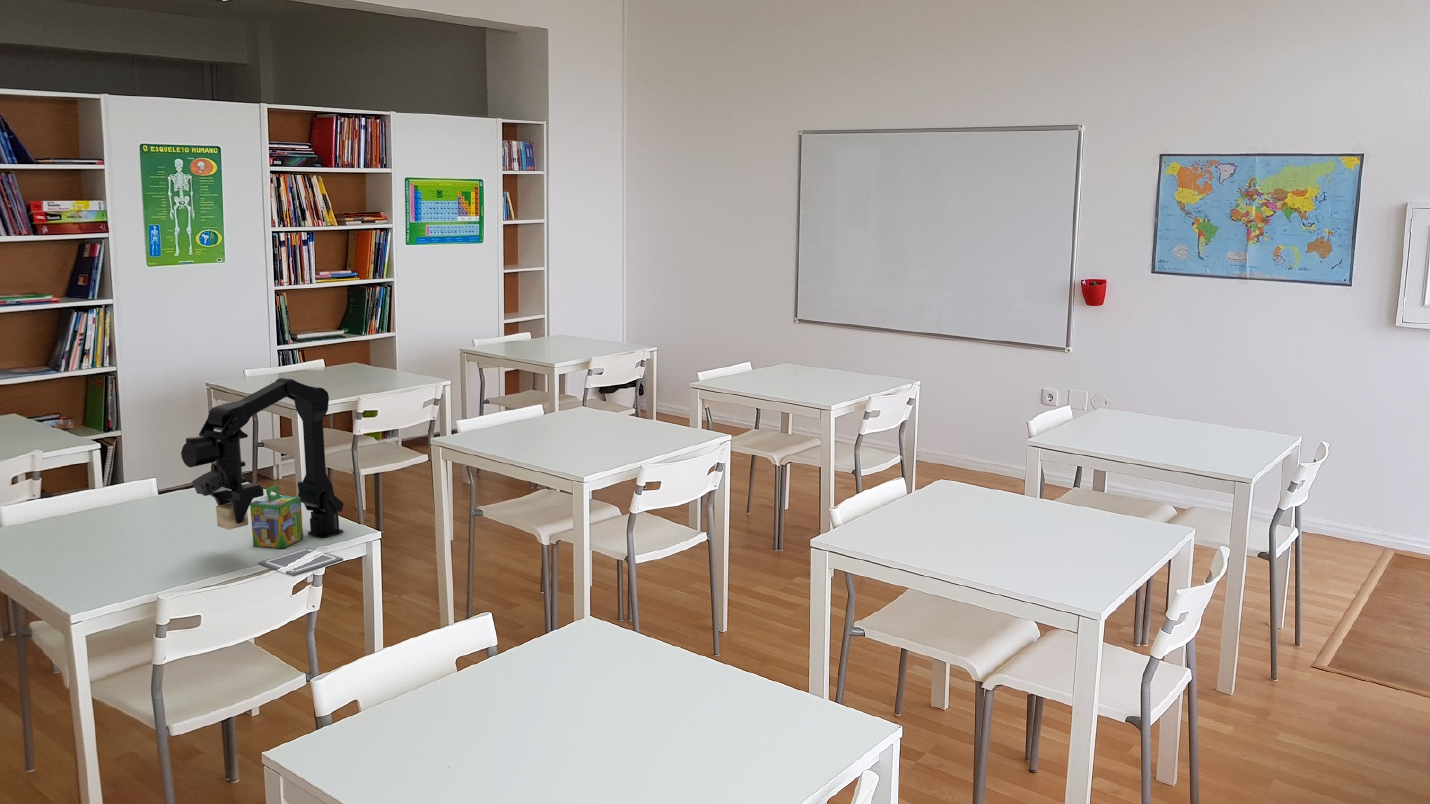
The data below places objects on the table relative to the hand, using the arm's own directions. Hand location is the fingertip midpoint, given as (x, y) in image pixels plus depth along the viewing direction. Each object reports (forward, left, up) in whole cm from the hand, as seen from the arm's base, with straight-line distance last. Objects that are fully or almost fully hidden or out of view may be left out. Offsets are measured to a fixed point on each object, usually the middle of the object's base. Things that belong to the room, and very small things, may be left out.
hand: (232, 521), depth 269 cm
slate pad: (-9, +13, -10) cm, 19 cm away
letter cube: (0, 0, -1) cm, 1 cm away
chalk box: (-15, -5, -11) cm, 19 cm away
